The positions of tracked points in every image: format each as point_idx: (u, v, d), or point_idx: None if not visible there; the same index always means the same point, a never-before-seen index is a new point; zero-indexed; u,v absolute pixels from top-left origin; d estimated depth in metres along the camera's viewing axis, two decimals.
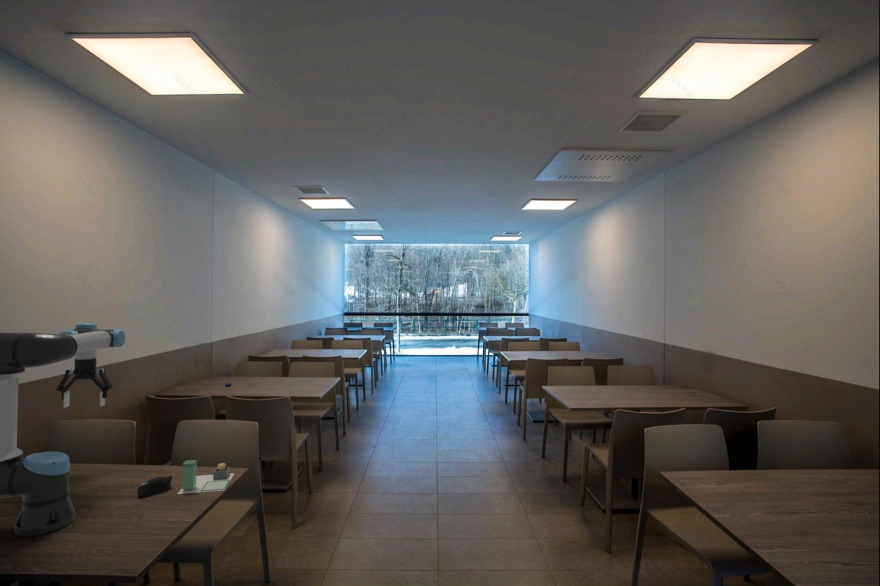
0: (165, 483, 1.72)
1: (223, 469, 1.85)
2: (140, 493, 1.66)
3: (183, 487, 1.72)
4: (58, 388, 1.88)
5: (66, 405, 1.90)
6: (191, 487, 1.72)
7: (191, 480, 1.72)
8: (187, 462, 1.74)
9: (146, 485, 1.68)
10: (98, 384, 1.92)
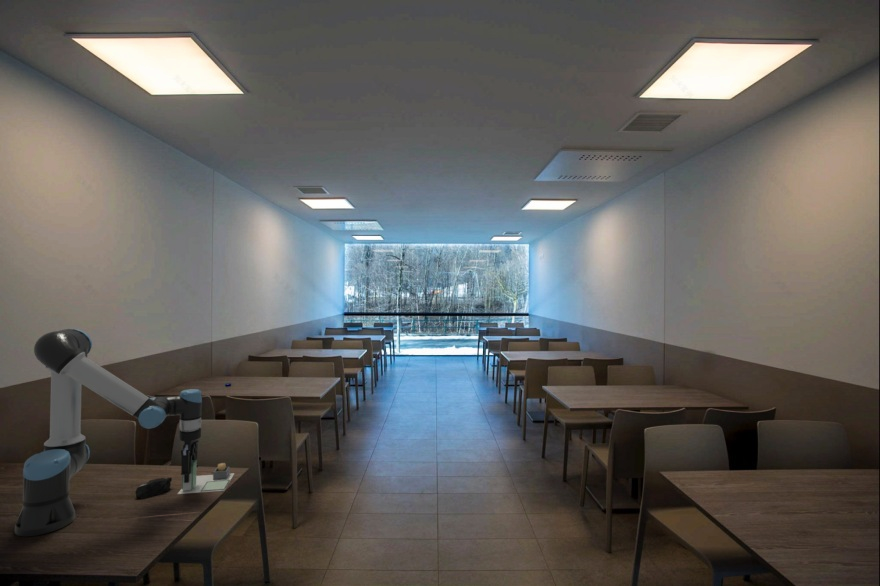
0: (164, 484, 1.70)
1: (223, 469, 1.85)
2: (138, 494, 1.65)
3: None
4: None
5: None
6: (191, 487, 1.72)
7: (191, 480, 1.72)
8: None
9: (144, 486, 1.66)
10: None
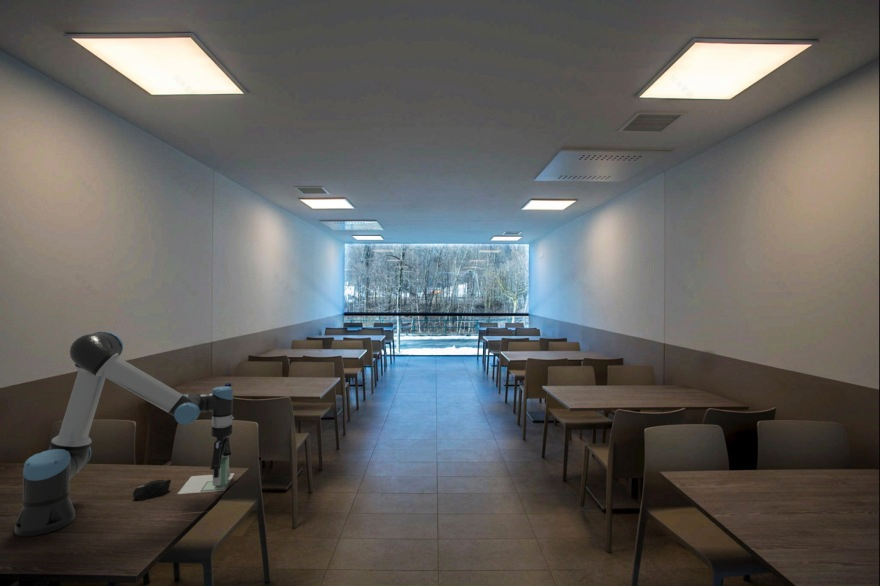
0: (162, 487, 1.68)
1: None
2: (135, 496, 1.64)
3: None
4: None
5: None
6: (223, 484, 1.75)
7: (223, 477, 1.75)
8: None
9: (142, 488, 1.65)
10: None
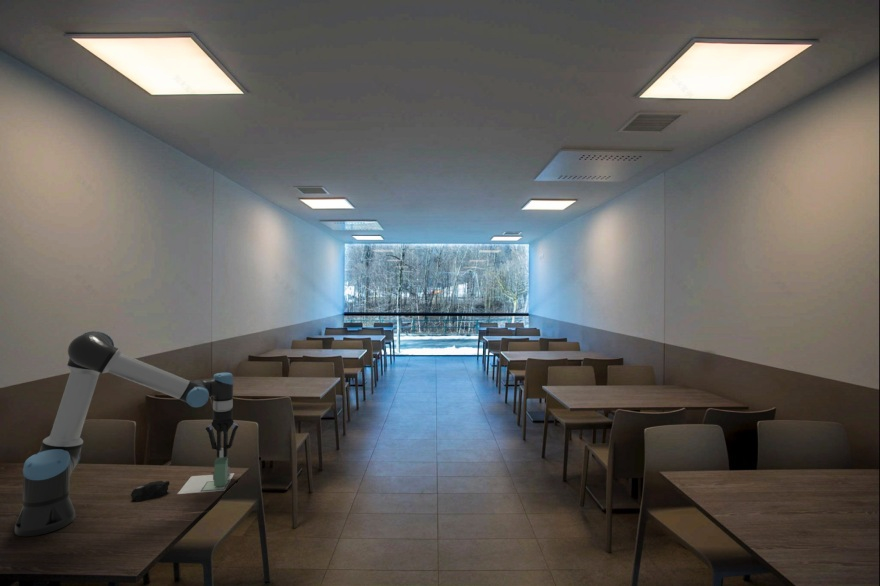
0: (159, 488, 1.67)
1: None
2: (133, 497, 1.63)
3: (215, 484, 1.75)
4: (213, 446, 1.84)
5: None
6: (223, 484, 1.75)
7: (223, 477, 1.75)
8: (219, 459, 1.77)
9: (139, 489, 1.64)
10: (225, 441, 1.85)
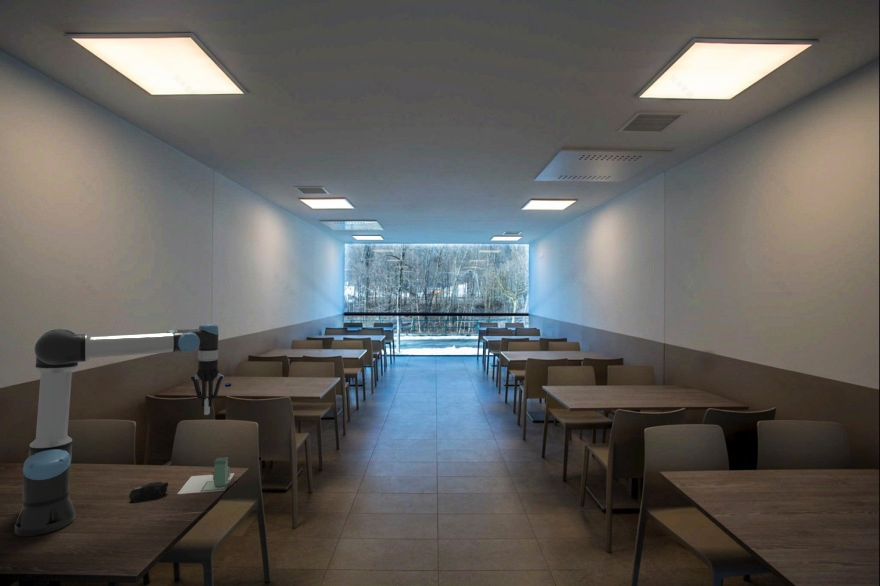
0: (157, 490, 1.66)
1: None
2: (131, 497, 1.62)
3: (215, 484, 1.75)
4: (198, 395, 1.87)
5: None
6: (223, 484, 1.75)
7: (223, 477, 1.75)
8: (219, 459, 1.77)
9: (137, 490, 1.63)
10: (210, 390, 1.88)
